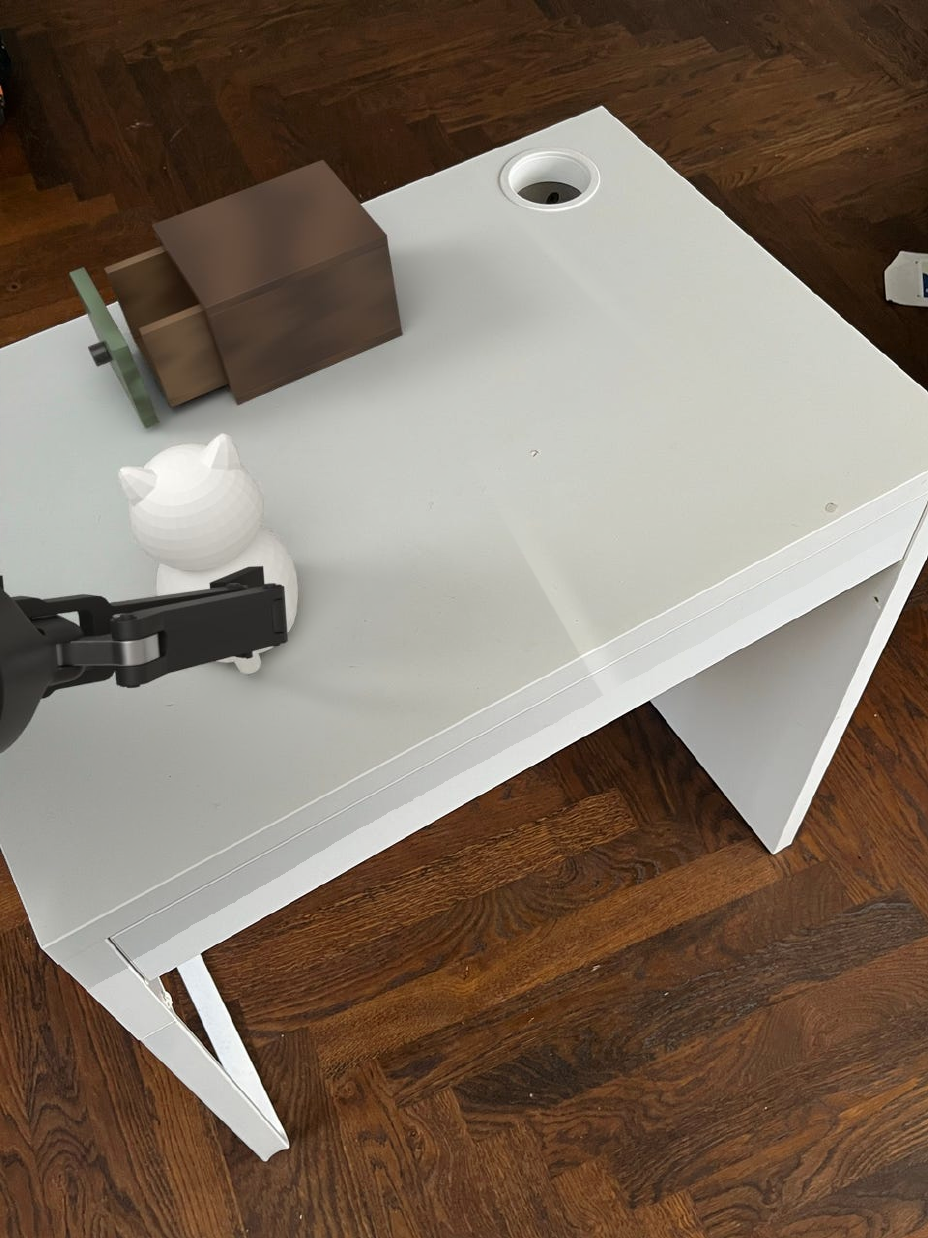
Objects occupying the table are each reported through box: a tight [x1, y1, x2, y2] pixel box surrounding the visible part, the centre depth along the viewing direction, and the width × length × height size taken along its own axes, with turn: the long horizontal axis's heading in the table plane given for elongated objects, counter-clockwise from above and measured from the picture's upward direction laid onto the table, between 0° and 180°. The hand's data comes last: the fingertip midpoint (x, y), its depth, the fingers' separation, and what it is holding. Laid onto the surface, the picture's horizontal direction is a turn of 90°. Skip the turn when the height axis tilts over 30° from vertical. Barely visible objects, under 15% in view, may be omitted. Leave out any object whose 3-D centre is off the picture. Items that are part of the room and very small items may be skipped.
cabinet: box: [151, 159, 403, 406], centre depth 91 cm, size 15×12×10 cm
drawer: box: [69, 246, 228, 429], centre depth 89 cm, size 15×10×8 cm
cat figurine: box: [117, 433, 299, 675], centre depth 71 cm, size 9×12×15 cm
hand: (127, 597), depth 58 cm, fingers open, 13 cm apart
